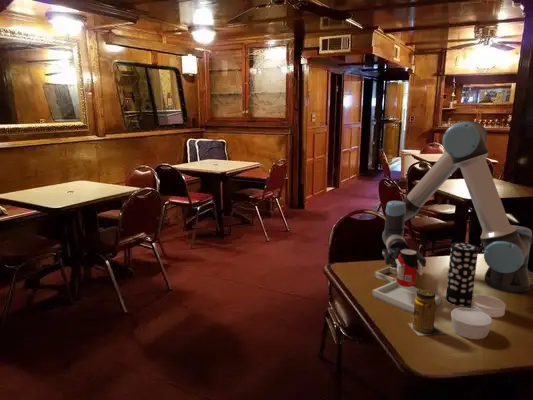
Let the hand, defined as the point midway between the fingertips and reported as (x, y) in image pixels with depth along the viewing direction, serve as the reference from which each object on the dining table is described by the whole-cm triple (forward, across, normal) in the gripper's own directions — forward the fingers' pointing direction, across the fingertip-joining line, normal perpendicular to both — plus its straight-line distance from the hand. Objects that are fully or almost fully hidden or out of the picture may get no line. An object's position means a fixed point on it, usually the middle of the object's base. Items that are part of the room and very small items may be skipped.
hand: (410, 270), depth 137 cm
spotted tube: (-6, -19, -13) cm, 24 cm away
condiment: (+14, -3, -13) cm, 20 cm away
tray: (-5, 0, -13) cm, 14 cm away
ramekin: (+14, -15, -13) cm, 25 cm away
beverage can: (-5, 0, -7) cm, 9 cm away
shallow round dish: (0, -26, -13) cm, 29 cm away
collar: (-25, +1, -13) cm, 28 cm away
